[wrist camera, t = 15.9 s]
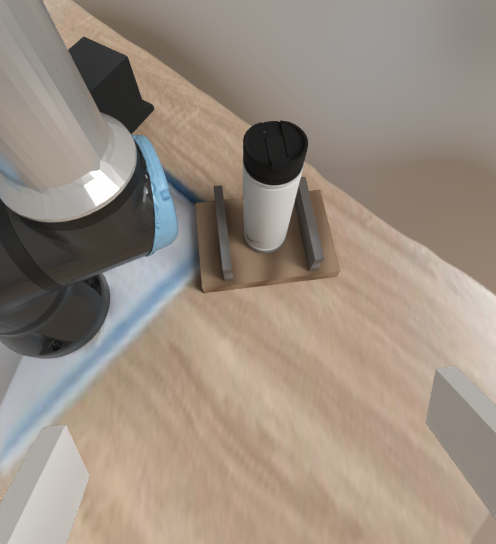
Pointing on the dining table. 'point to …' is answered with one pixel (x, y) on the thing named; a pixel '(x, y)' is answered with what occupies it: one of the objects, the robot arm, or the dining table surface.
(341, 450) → the dining table surface
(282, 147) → the travel mug
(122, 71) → the black mini cabinet
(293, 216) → the wooden rack
